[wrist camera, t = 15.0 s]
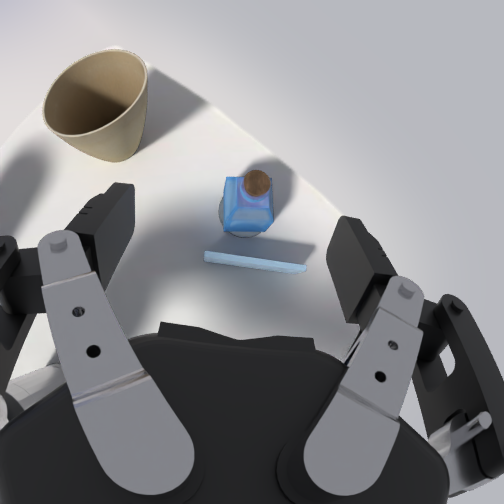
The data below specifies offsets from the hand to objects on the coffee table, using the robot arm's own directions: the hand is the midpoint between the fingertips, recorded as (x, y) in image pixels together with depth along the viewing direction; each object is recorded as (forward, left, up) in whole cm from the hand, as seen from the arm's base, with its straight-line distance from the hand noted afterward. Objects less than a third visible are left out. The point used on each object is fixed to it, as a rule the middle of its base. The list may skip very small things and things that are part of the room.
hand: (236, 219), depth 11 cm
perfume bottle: (+11, -3, -33) cm, 35 cm away
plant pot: (+20, +20, -34) cm, 44 cm away
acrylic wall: (+3, -5, -34) cm, 34 cm away
